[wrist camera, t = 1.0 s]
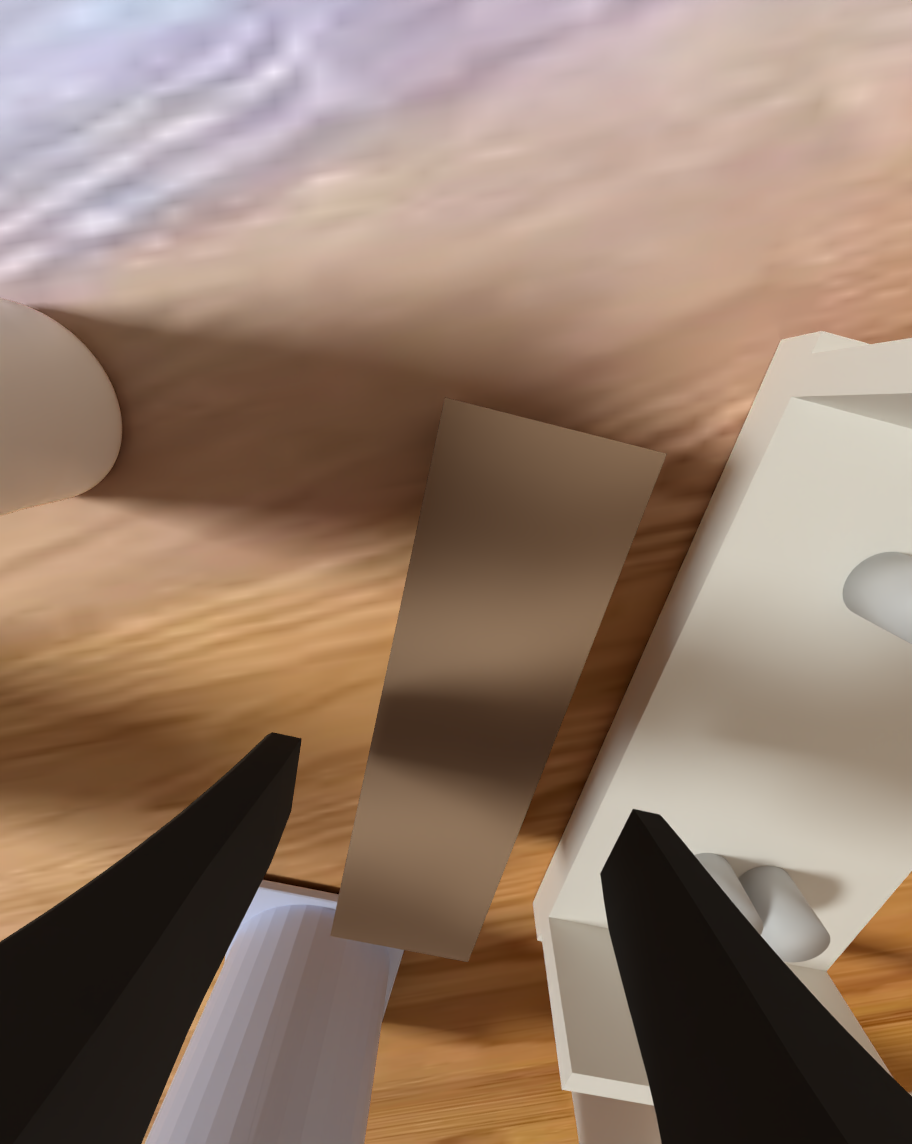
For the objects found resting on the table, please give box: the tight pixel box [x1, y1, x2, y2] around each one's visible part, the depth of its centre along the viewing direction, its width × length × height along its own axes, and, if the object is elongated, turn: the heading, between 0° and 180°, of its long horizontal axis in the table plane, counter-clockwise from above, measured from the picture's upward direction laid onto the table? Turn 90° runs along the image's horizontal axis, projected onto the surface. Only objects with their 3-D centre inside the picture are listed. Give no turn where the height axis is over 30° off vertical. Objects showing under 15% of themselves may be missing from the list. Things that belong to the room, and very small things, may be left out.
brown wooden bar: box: [330, 397, 667, 962], centre depth 14 cm, size 16×4×5 cm, turn 167°
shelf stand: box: [533, 331, 912, 1106], centre depth 14 cm, size 23×12×6 cm, turn 167°
